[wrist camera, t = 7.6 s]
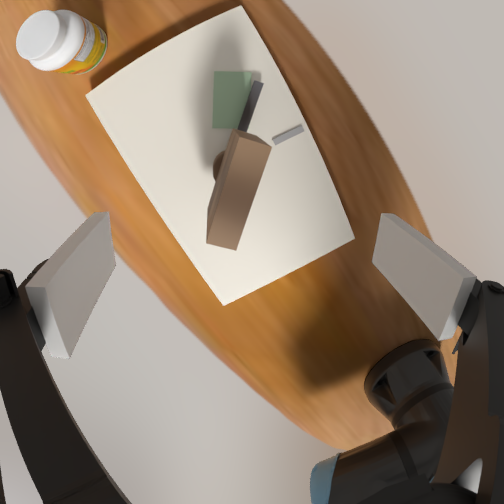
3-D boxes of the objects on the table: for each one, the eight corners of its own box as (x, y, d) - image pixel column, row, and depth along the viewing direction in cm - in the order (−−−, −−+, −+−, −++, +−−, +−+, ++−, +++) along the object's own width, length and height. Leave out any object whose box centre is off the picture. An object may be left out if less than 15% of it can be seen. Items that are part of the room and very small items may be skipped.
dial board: (348, 231, 35) (355, 239, 33) (222, 295, 36) (223, 306, 34) (239, 11, 23) (241, 4, 21) (92, 95, 25) (84, 95, 23)
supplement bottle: (52, 68, 23) (-2, 62, 14) (74, 20, 21) (27, -2, 12) (94, 80, 24) (48, 75, 16) (117, 31, 22) (80, 6, 14)
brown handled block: (233, 205, 29) (243, 252, 21) (202, 197, 29) (198, 241, 20) (274, 87, 25) (304, 80, 16) (241, 77, 24) (256, 63, 16)
